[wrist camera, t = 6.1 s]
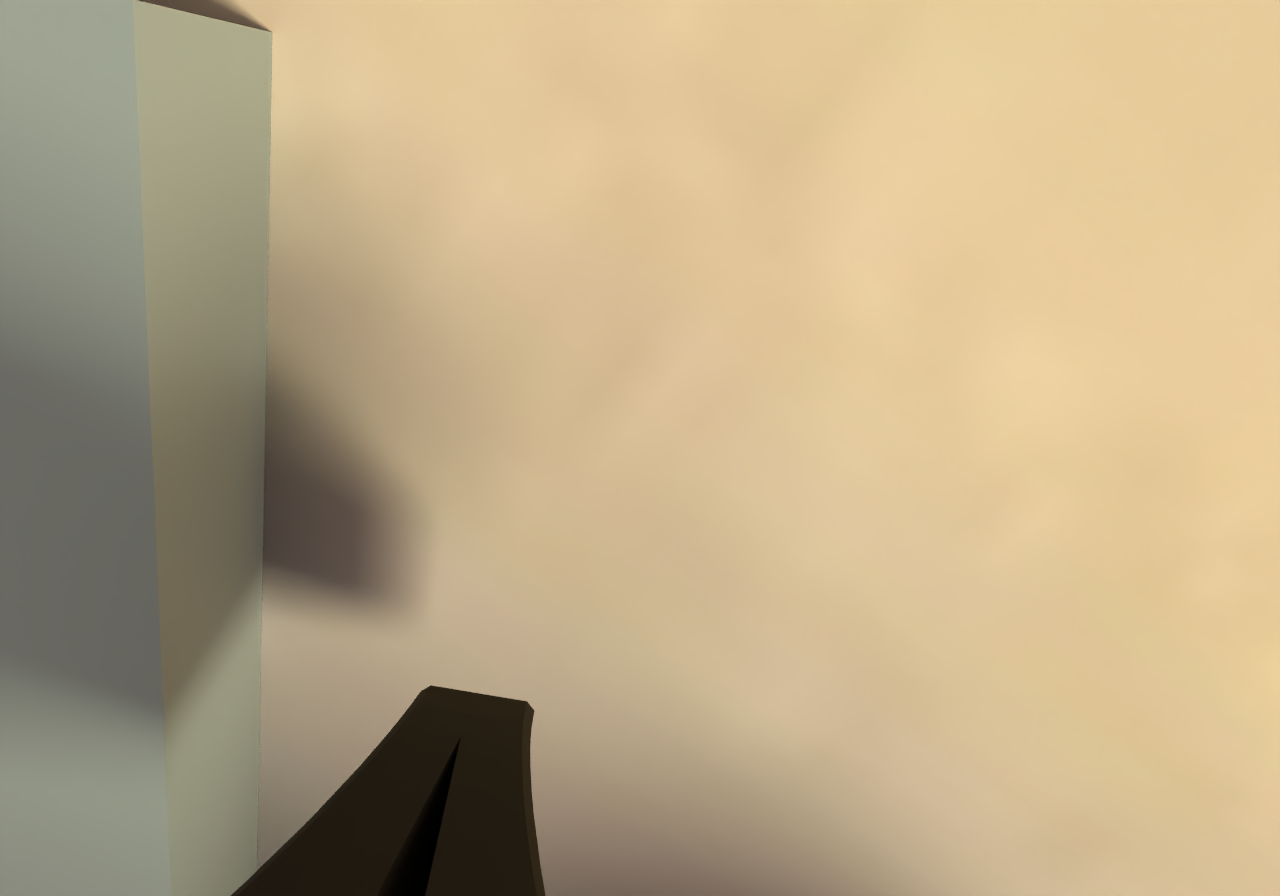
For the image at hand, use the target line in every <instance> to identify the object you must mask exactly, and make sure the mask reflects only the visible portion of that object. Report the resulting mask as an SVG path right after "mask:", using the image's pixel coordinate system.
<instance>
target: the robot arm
mask: <svg viewBox="0 0 1280 896" xmlns="http://www.w3.org/2000/svg"><path fill="white" fill-rule="evenodd" d="M533 715H534V710H533V708H532V707H531V706H530V705H529V703H528V702H527V701H521V700H514V699H508V698H502V697H496V696H490V695H484V694H478V693H472V692H466V691H460V690H454V689H448V688H442V687H436V686H429V687H427V688H426V689H424V690H422V691H421V692H420V693H419V695H418V696H417V697H416V699H415V700H414V702H413V703H412V704H411V706H410V707H409V708H408V709H407V711H406V712H405V713H404V715H403V716H402V717H401V718H400V720H399V721H398V722H397V723H396V725H395V726H394V727H393V728H392V730H391V731H390V732H389V733H388V734H387V735H386V737H385V738H384V739H383V740H382V741H381V743H380V744H379V745H378V746H377V747H376V748H375V749H374V751H373V752H372V753H371V754H370V755H369V756H368V758H367V759H366V760H365V761H364V762H363V763H362V764H361V766H360V767H359V768H358V769H357V770H356V771H355V772H354V773H353V774H352V775H351V776H350V777H349V778H348V780H347V781H346V782H345V783H344V784H343V785H342V786H341V787H340V788H339V789H338V790H337V791H336V792H335V793H334V794H333V796H332V797H331V798H330V799H329V800H328V801H327V802H326V803H325V804H324V805H323V806H322V807H321V808H320V809H319V811H318V812H317V813H316V814H315V815H314V816H313V817H312V818H311V819H310V820H309V821H308V822H307V823H306V824H305V825H304V826H303V827H302V828H301V829H300V830H299V831H298V832H297V833H296V834H295V835H294V836H293V837H291V838H290V839H289V840H288V841H287V842H286V843H285V844H284V845H283V846H282V847H281V848H280V849H279V850H278V851H277V852H276V853H275V854H274V855H273V856H272V857H271V858H270V859H269V860H268V861H267V862H266V863H265V864H264V865H263V866H261V867H260V868H259V869H258V870H257V871H256V872H255V873H254V874H253V875H252V876H251V877H250V878H249V879H248V880H247V881H246V882H245V883H244V884H243V885H242V886H240V887H239V888H238V889H237V890H236V891H235V892H234V893H233V894H232V895H230V896H545V891H544V885H543V879H542V873H541V867H540V860H539V852H538V845H537V837H536V829H535V822H534V814H533V803H532V791H531V771H530V738H531V727H532V721H533Z"/></svg>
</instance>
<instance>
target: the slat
mask: <svg viewBox="0 0 1280 896" xmlns="http://www.w3.org/2000/svg"><path fill="white" fill-rule="evenodd" d="M271 83H272V32H269V31H264V30H260V29H256V28H252V27H248V26H243V25H239V24H235V23H231V22H227V21H222V20H218V19H214V18H210V17H205V16H201V15H197V14H193V13H189V12H184V11H180V10H176V9H172V8H168V7H163V6H159V5H155V4H151V3H147V2H142V1H138V0H0V896H230V895H232V894H233V893H234V892H235V891H236V890H237V889H238V888H239V887H240V886H242V885H243V884H244V883H245V882H246V881H247V880H248V879H249V878H250V877H251V876H252V875H253V874H254V873H255V872H256V871H257V854H258V799H259V744H260V689H261V634H262V579H263V524H264V468H265V413H266V358H267V303H268V248H269V193H270V138H271Z"/></svg>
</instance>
